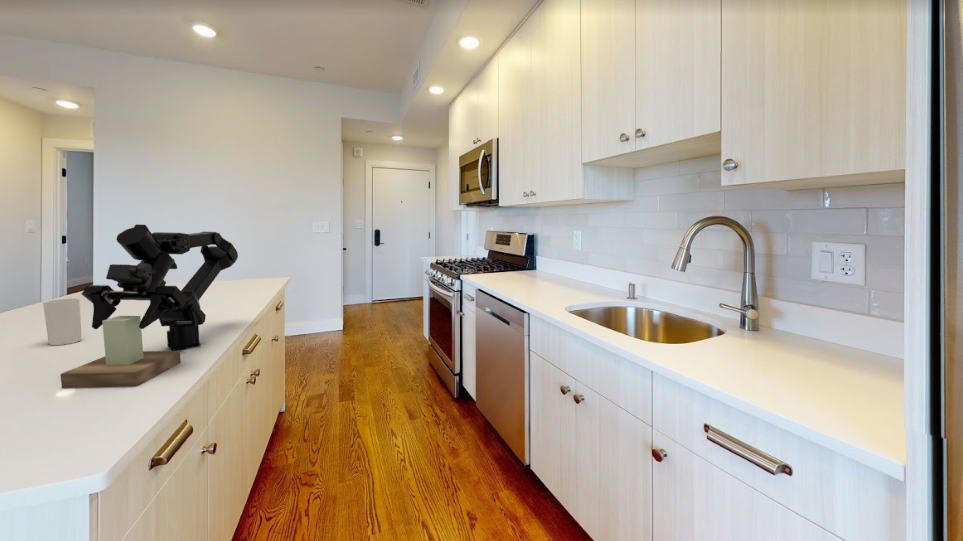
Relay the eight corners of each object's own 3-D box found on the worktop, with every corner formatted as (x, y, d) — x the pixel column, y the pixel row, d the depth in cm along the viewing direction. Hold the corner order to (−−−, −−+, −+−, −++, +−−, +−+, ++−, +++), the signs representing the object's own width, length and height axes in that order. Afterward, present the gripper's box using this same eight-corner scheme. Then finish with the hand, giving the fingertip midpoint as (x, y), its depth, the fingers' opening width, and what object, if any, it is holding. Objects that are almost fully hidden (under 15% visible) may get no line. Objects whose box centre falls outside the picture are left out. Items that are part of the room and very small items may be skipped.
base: (117, 363, 91) (116, 351, 91) (180, 362, 93) (180, 350, 93) (61, 387, 78) (60, 373, 77) (137, 386, 79) (136, 372, 79)
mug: (83, 342, 106) (80, 300, 105) (47, 347, 101) (43, 303, 100) (81, 335, 113) (77, 295, 112) (47, 339, 108) (42, 298, 107)
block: (122, 358, 87) (118, 315, 86) (143, 357, 88) (140, 315, 86) (106, 365, 83) (102, 320, 81) (128, 364, 83) (124, 320, 82)
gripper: (85, 250, 85) (39, 308, 75) (175, 251, 87) (143, 308, 78) (116, 279, 94) (79, 335, 84) (198, 280, 96) (171, 334, 86)
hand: (117, 328), depth 83 cm, fingers open, 9 cm apart
